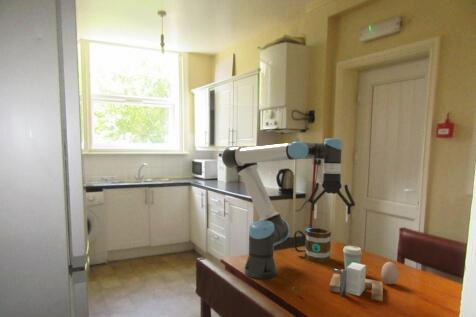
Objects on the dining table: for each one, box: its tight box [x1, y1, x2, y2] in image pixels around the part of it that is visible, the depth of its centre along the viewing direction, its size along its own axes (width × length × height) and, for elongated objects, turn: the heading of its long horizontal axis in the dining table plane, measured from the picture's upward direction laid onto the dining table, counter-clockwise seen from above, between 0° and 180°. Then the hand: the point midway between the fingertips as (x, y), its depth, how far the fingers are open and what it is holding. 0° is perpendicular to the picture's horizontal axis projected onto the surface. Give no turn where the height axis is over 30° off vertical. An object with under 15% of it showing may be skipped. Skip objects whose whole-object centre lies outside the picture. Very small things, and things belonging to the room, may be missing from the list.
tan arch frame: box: [328, 272, 384, 302], centre depth 131 cm, size 20×14×2 cm
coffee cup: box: [342, 245, 363, 270], centre depth 149 cm, size 8×8×12 cm
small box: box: [346, 262, 367, 297], centre depth 129 cm, size 8×6×10 cm
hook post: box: [332, 268, 347, 298], centre depth 126 cm, size 5×2×10 cm, turn 66°
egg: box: [380, 261, 399, 286], centre depth 137 cm, size 7×7×10 cm
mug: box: [293, 227, 332, 263], centre depth 170 cm, size 20×14×15 cm
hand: (330, 219), depth 142 cm, fingers open, 13 cm apart
